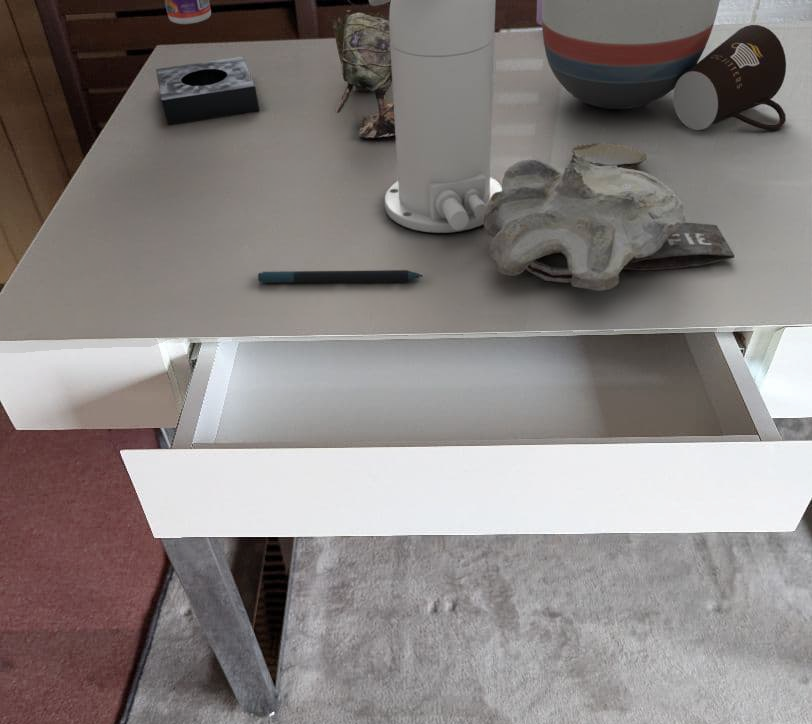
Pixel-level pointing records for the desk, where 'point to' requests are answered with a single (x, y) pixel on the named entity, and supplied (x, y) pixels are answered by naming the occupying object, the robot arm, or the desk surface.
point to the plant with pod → (369, 69)
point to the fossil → (579, 218)
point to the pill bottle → (188, 11)
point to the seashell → (610, 155)
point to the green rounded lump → (340, 36)
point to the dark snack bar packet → (663, 253)
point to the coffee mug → (733, 80)
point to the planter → (624, 46)
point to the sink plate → (206, 90)
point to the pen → (338, 276)
